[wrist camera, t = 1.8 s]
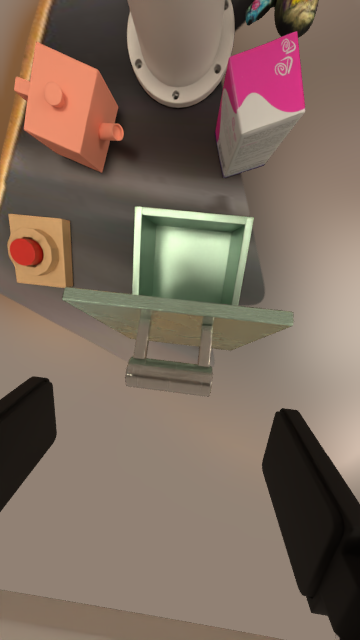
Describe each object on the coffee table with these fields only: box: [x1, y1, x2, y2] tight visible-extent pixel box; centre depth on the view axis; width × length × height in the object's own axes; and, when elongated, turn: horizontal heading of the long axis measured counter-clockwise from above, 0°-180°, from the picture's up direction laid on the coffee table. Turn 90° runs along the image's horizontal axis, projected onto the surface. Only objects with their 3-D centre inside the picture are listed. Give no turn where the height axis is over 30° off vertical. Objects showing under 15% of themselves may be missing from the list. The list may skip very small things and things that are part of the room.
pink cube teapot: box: [14, 42, 124, 173], centre depth 26 cm, size 8×12×8 cm, turn 68°
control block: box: [7, 214, 73, 288], centre depth 33 cm, size 10×8×4 cm
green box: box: [132, 206, 254, 306], centre depth 30 cm, size 15×13×10 cm
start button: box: [10, 238, 43, 266], centre depth 31 cm, size 4×4×2 cm
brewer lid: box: [62, 287, 293, 397], centre depth 19 cm, size 15×13×5 cm
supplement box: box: [215, 31, 305, 178], centre depth 24 cm, size 6×6×12 cm
